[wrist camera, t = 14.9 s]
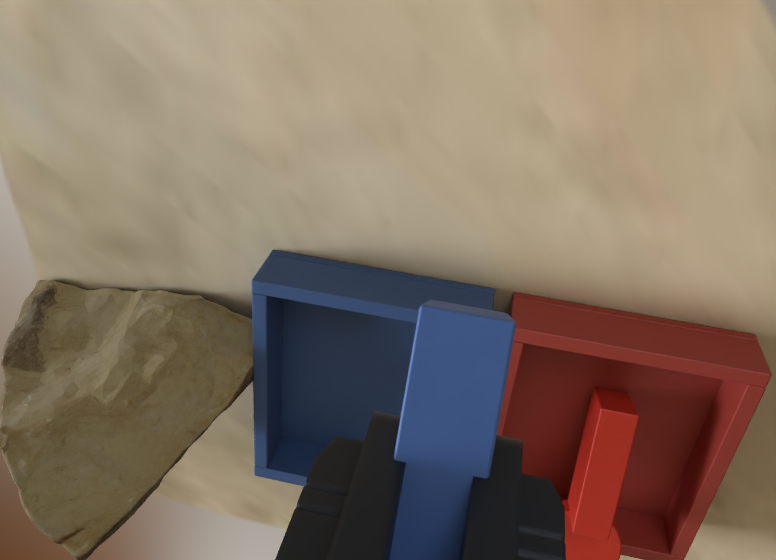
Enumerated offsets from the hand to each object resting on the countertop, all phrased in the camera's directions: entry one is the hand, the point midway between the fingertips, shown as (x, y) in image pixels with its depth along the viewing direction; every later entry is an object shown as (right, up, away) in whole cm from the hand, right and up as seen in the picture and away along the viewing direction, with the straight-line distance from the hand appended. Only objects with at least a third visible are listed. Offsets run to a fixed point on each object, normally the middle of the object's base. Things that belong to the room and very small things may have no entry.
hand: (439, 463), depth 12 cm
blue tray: (-2, -1, +18) cm, 19 cm away
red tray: (+8, -2, +17) cm, 19 cm away
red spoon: (+7, -5, +17) cm, 19 cm away
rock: (-11, +1, +19) cm, 22 cm away
